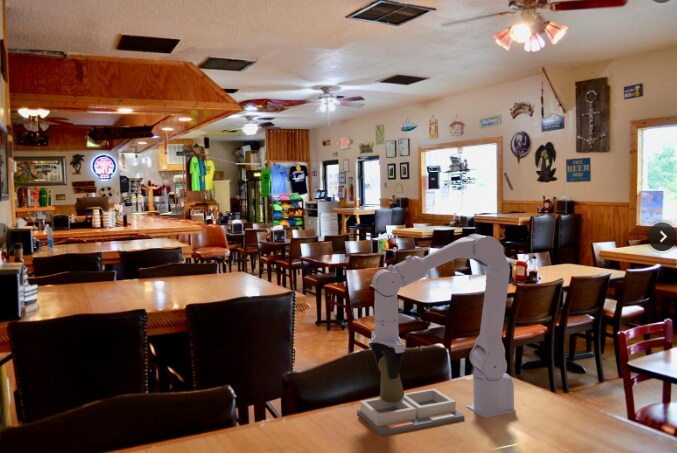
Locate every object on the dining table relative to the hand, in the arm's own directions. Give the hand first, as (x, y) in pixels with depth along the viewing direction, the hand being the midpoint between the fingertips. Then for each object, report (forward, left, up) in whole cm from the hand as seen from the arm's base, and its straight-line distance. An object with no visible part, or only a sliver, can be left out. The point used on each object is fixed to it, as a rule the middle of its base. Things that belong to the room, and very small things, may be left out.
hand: (387, 374), depth 135 cm
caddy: (-5, +2, -10) cm, 12 cm away
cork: (-2, -3, -6) cm, 7 cm away
